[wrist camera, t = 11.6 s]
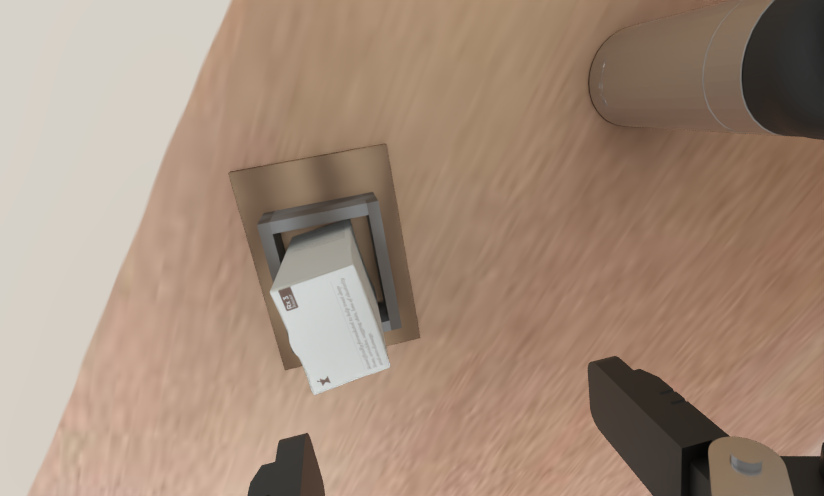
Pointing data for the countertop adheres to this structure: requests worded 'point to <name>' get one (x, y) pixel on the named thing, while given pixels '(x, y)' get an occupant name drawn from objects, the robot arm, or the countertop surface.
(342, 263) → the skincare box
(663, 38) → the robot arm
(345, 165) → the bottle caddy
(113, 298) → the countertop surface
